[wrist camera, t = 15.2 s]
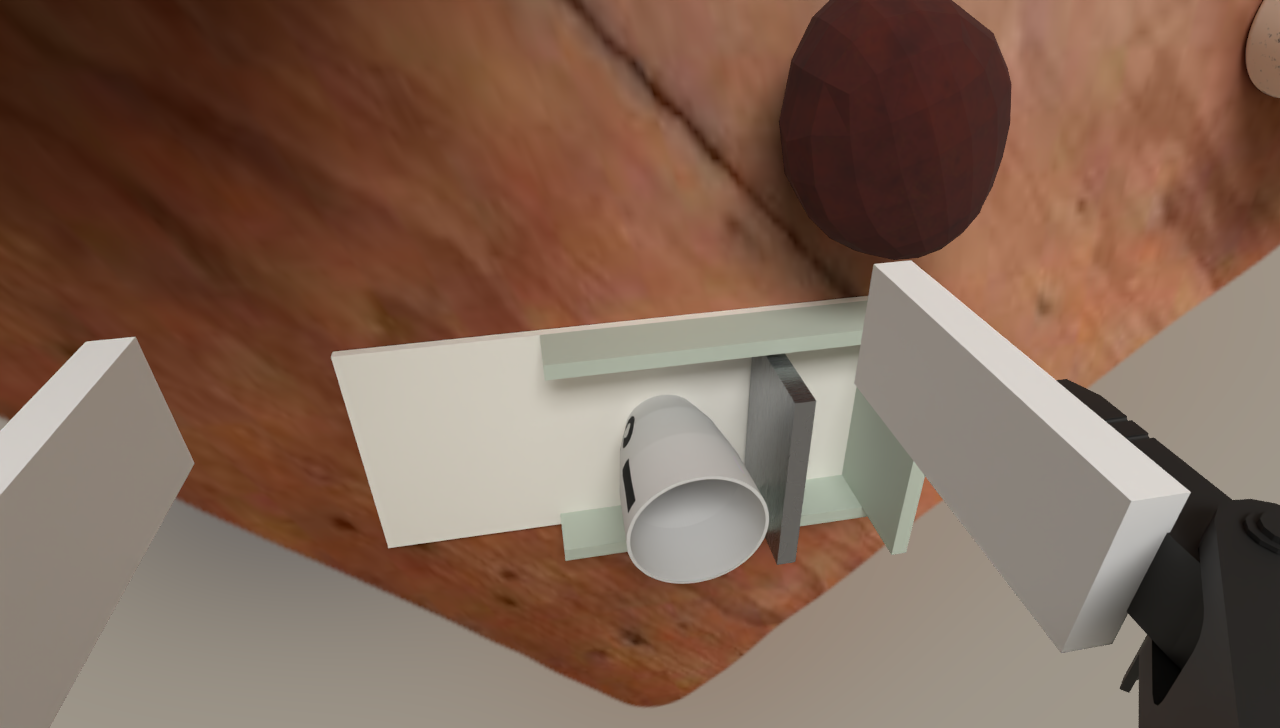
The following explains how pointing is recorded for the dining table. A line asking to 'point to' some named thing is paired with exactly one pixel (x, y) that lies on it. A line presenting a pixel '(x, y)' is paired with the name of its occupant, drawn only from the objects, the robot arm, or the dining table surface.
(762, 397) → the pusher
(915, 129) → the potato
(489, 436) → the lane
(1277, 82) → the teacup with lid
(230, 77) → the dining table surface
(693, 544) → the cup
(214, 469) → the dining table surface
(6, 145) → the dining table surface
